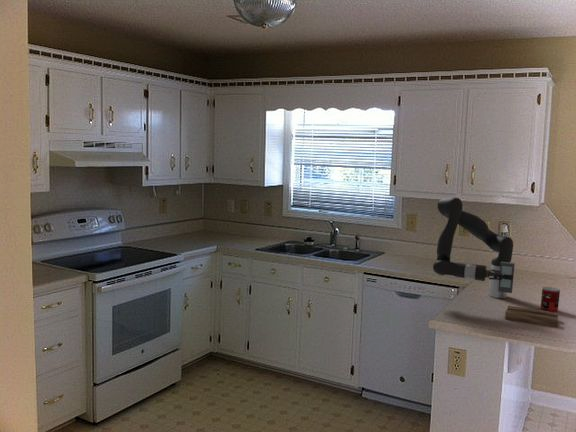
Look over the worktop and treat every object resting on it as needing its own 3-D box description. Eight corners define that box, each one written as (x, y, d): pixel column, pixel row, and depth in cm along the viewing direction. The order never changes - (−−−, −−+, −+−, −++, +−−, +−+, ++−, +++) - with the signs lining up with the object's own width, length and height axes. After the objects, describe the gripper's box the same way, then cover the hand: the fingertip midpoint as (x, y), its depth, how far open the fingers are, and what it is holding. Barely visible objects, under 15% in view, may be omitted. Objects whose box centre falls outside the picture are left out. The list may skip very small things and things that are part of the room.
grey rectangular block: (498, 290, 276) (501, 261, 275) (512, 291, 274) (514, 263, 272) (498, 291, 274) (500, 262, 272) (511, 293, 271) (514, 264, 269)
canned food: (537, 307, 292) (540, 286, 290) (553, 308, 291) (555, 287, 290) (544, 311, 284) (546, 290, 283) (560, 312, 284) (562, 290, 282)
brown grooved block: (507, 312, 279) (508, 305, 279) (557, 320, 270) (558, 312, 269) (505, 319, 268) (505, 311, 267) (556, 327, 258) (557, 319, 258)
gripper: (473, 267, 272) (512, 271, 265) (478, 262, 285) (515, 266, 277) (472, 282, 273) (510, 287, 266) (476, 277, 286) (513, 282, 278)
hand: (512, 277), depth 272 cm, fingers closed on grey rectangular block, 3 cm apart
